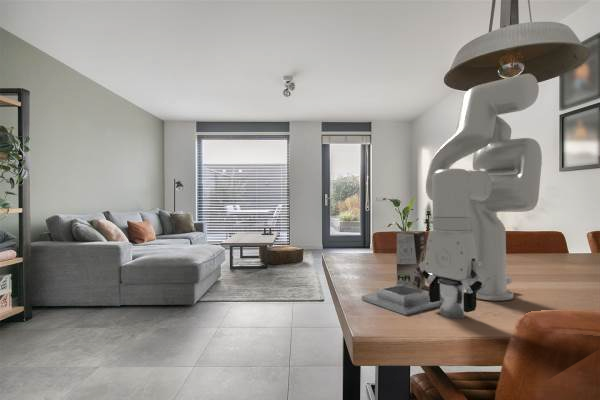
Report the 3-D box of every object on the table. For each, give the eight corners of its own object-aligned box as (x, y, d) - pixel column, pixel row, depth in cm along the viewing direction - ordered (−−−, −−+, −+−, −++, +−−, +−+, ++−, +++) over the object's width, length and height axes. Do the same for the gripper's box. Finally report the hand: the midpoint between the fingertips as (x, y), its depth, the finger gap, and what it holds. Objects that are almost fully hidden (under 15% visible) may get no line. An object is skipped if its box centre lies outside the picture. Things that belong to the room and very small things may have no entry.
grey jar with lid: (448, 309, 77) (448, 274, 77) (470, 315, 73) (469, 278, 73) (434, 313, 74) (433, 277, 74) (455, 320, 70) (455, 281, 70)
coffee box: (419, 292, 92) (418, 233, 92) (395, 289, 95) (395, 232, 96) (426, 285, 100) (425, 231, 100) (404, 282, 103) (404, 230, 103)
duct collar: (400, 292, 92) (400, 281, 92) (445, 304, 80) (445, 292, 80) (361, 299, 85) (361, 287, 85) (405, 315, 73) (405, 301, 73)
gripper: (407, 224, 79) (408, 299, 79) (480, 228, 64) (481, 320, 64) (428, 223, 83) (428, 294, 83) (501, 227, 68) (502, 314, 68)
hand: (451, 305), depth 73 cm, fingers open, 7 cm apart
